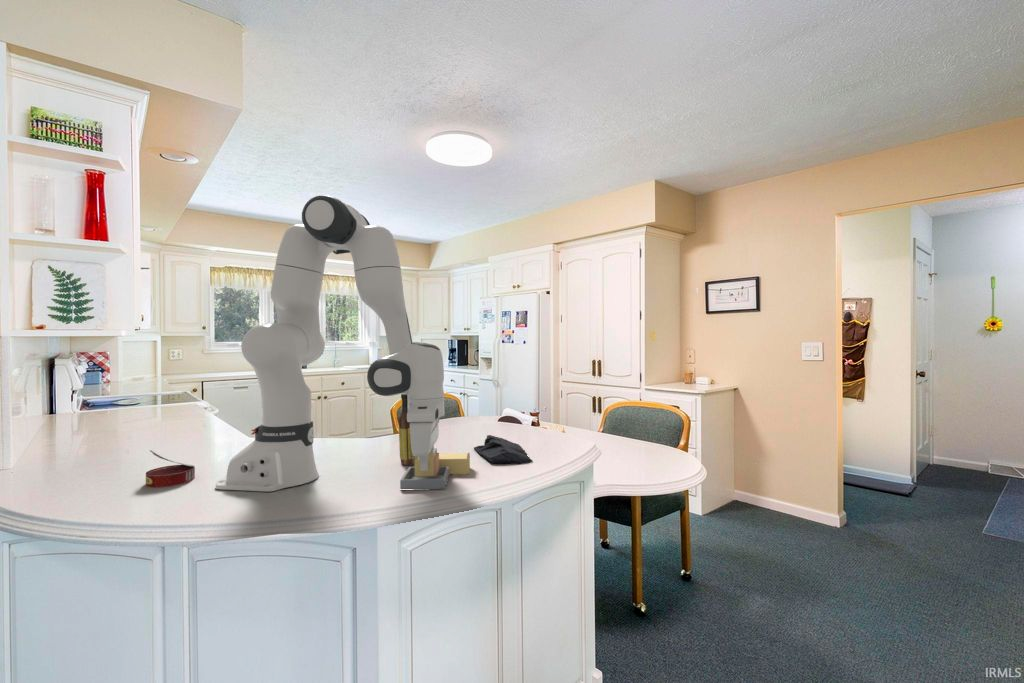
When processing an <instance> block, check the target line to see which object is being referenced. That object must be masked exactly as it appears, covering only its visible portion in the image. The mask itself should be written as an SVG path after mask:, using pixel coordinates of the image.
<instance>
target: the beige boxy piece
mask: <svg viewBox="0 0 1024 683" xmlns="http://www.w3.org/2000/svg"><path fill="white" fill-rule="evenodd" d="M433 453H438V448H435V447H434V450H433ZM470 456H471V453H470V452H466V453H464V452H460V453H459V452H458V453H456V452H453V453H449V452H448V453H444V452H443V453H439V466H449V474H453V475H469V474H470V470H471V469H470V467H471V462H470V461H471V459H470V458H471V457H470ZM469 469H470V470H469Z"/></svg>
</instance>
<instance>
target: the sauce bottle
mask: <svg viewBox="0 0 1024 683" xmlns="http://www.w3.org/2000/svg"><path fill="white" fill-rule="evenodd" d="M400 399H401V403H402V406H401V411H400V414H399V417H398V441H399V459H400V463H401V465H404V466H415V458H416V457H417V456H413V453H412V449H411V439H410V422H407V412H408V401H407V394H406V393H401V394H400Z"/></svg>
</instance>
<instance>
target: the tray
mask: <svg viewBox="0 0 1024 683" xmlns="http://www.w3.org/2000/svg"><path fill="white" fill-rule="evenodd" d="M404 472H405V473H404V474H403V475H402V476H401V478H400V480H399V486H400V487H399V488H400V489H445V490H446V488H445V487H447V484H448V481H449V478H450V475H449V466H439V471H438V473H437V476H419V477H415V466H409V467H408V468H407V469H406V470H405V471H404ZM448 477H449V478H448ZM447 480H448V481H447ZM446 483H447V484H446ZM400 489H399V490H400Z"/></svg>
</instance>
